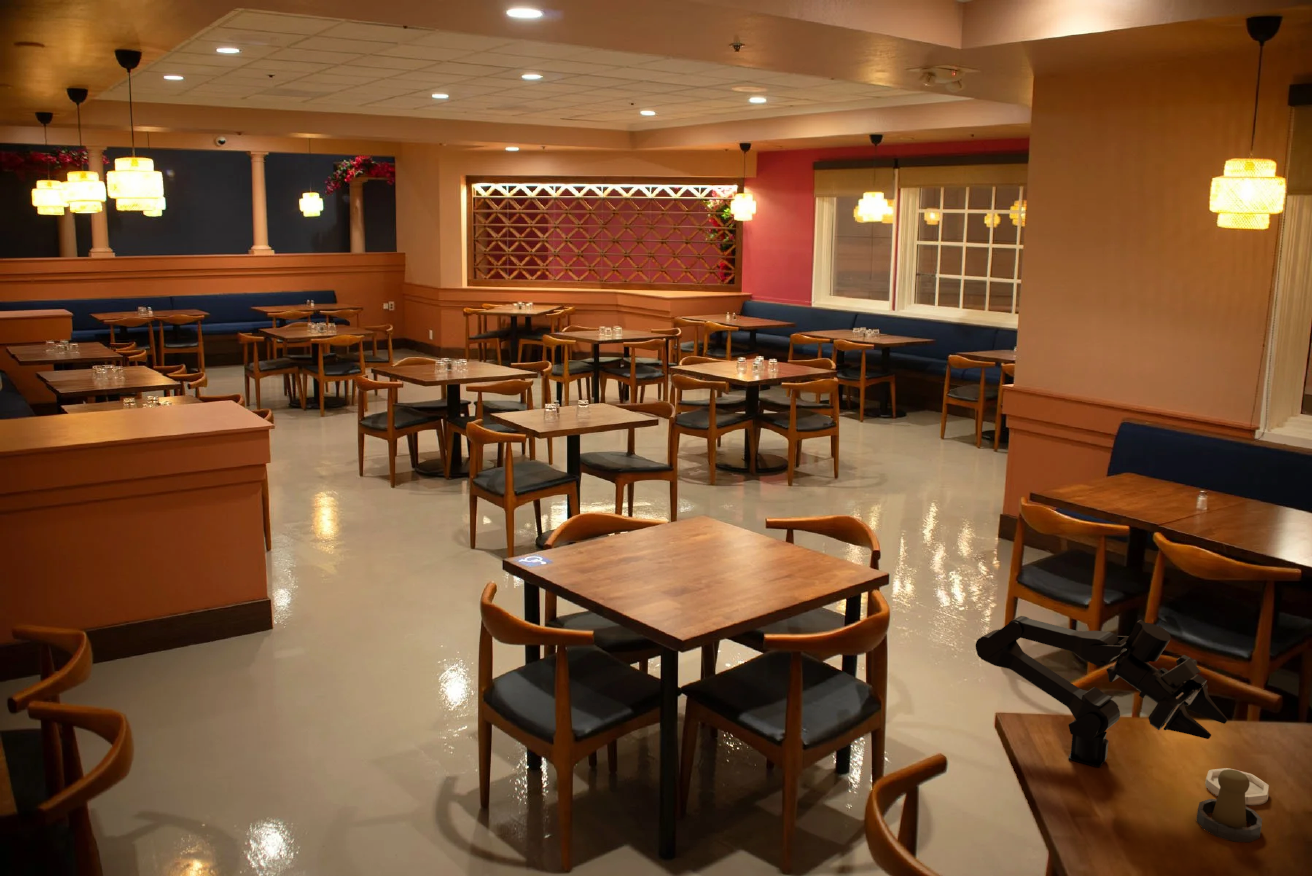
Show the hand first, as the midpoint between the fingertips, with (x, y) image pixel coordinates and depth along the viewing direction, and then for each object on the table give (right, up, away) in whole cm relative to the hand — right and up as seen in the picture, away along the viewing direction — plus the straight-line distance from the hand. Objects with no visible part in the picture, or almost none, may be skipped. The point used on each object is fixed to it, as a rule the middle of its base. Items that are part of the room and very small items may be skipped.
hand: (1218, 729), depth 204 cm
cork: (-1, -17, -5) cm, 18 cm away
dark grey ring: (-1, -17, -5) cm, 18 cm away
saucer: (+8, -14, +8) cm, 18 cm away
